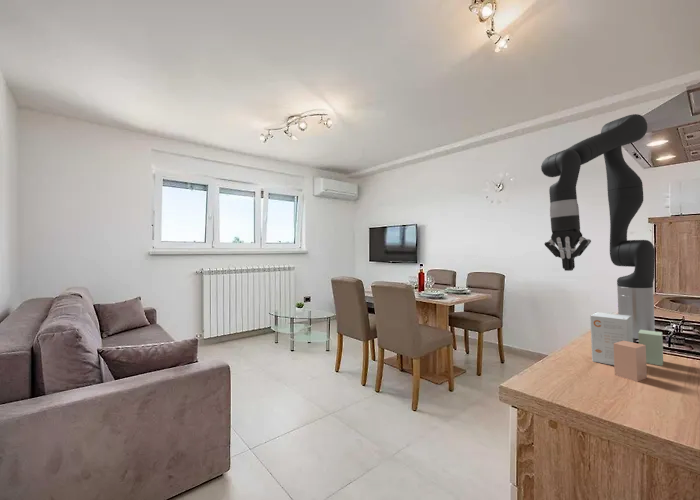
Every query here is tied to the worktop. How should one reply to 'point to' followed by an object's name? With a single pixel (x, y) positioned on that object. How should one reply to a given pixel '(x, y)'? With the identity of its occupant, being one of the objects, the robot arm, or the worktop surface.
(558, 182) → the robot arm
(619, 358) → the terracotta block
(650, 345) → the sage block
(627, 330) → the small box
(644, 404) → the worktop surface
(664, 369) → the worktop surface
